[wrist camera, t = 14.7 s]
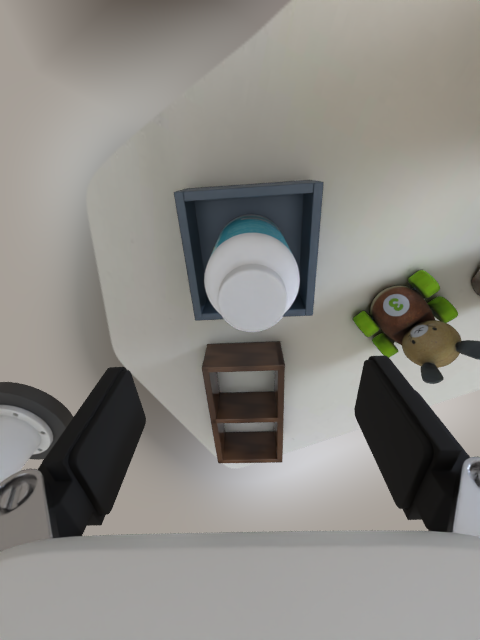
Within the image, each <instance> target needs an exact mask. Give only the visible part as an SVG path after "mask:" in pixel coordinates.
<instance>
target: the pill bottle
mask: <svg viewBox="0 0 480 640" xmlns="http://www.w3.org/2000/svg"><path fill="white" fill-rule="evenodd" d="M299 284H300V276H299V269H298V266H297V263H296V260H295V258H294V256H293V254H292V252H291V250H290V248H289V246H288V245H287V243H286V241H285V238H284V236H283V234H282V233H281V231H280V229H279V228H278V227H277V226H276V225H275V224H274V223H273V222H272V221H271V220H269V219H268V218H266V217H263V216H260V215H254V214H248V215H242V216H239V217H237V218H235V219H233V220H232V221H230V222H229V223H228V224H227V225H226V226H225V227H224V228H223V230H222V231H221V233H220V235H219V237H218V240H217V242H216V244H215V247H214V249H213V252H212V254H211V256H210V259H209V261H208V264H207V266H206V270H205V276H204V285H205V290H206V293H207V296H208V299H209V301H210V302H211V304H212V306H213V307H214V308H215V309H216V311H217V312H218V313H219V314H221V316H222V317H223V319H224V320H225V321H226V322H227V323H228V324H229V325H231V326H232V327H234V328H236V329H238V330H241V331H245V332H260V331H263V330H266V329H269V328H270V327H272V326H274V325H275V324H276V323H277V322H278V321H279V320H280V319H281V318H282V316H283V315H284V313H285V312H286V311H287V310H288V309H289V308H290V306H291V305H292V304H293V302H294V300H295V298H296V296H297V293H298V290H299Z"/></svg>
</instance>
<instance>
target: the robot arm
mask: <svg viewBox="0 0 480 640" xmlns="http://www.w3.org/2000/svg"><path fill="white" fill-rule="evenodd" d="M355 417H356V419H357V421H358V424H359V426H360V428H361V430H362V432H363V434H364V437H365V439H366V441H367V443H368V445H369V447H370V449H371V452H372V454H373V456H374V458H375V460H376V463H377V465H378V467H379V469H380V471H381V473H382V476H383V478H384V480H385V482H386V484H387V486H388V489H389V491H390V493H391V495H392V497H393V499H394V502H395V504H396V505H397V507H398V508H400V509H403V511H404V513H405V515H406V517H407V519H408V520H417V519H422V520H423V522H424V524H425V526H426V528H427V529H429V531H373V530H371V531H288V532H287V531H284V532H223V533H177V534H176V533H173V534H129V535H128V534H127V535H102V536H101V535H100V536H82V534H83V532H84V530H85V528H86V526H87V525H102V522H103V520H104V517H105V515H106V514H109V513H110V511H111V510H112V507H113V505H114V502H115V500H116V497H117V495H118V492H119V490H120V487H121V484H122V482H123V479H124V477H125V475H126V472H127V469H128V467H129V464H130V462H131V459H132V457H133V454H134V452H135V449H136V447H137V444H138V442H139V439H140V436H141V434H142V431H143V429H144V426H145V422H146V418H145V414H144V411H143V408H142V405H141V402H140V399H139V396H138V393H137V390H136V387H135V384H134V381H133V378H132V375H131V372H130V371H129V370H126V368H125V367H113V368H108V369H107V370H106V372H105V373H104V375H103V376H102V377H101V379H100V380H99V382H98V383H97V385H96V386H95V388H94V389H93V390H92V392H91V393H90V395H89V396H88V397H87V399H86V400H85V402H84V403H83V405H82V406H81V407H80V409H79V410H78V412H77V413H76V415H75V416H74V417H73V419H72V420H71V422H70V423H69V425H68V426H67V427H66V429H65V430H64V432H63V433H62V434H61V436H60V437H59V439H58V440H57V442H56V443H55V444H54V446H53V447H52V449H51V450H50V452H49V453H48V454H47V456H46V457H45V459H44V460H43V462H42V464H41V465H40V467H39V468H38V470H37V469H26V470H22V471H20V470H21V468H22V467H23V466H24V465H25V463H26V462H27V461H28V459H29V458H30V457H31V455H34V454H39V453H42V452H44V451H45V450H47V449H48V448H49V446H50V445H51V443H52V441H53V433H52V431H51V429H50V427H49V426H48V425H47V423H46V422H45V421H43V420H42V419H41V418H40V417H38V416H37V415H35V414H33V413H32V412H30V411H27V410H25V409H22V408H19V407H16V406H10V405H0V640H480V457H478V456H477V457H469V455H468V454H467V453H466V452H465V450H464V449H463V448H462V447H461V445H460V444H459V443H458V442H457V440H456V439H455V438H454V437H453V435H452V434H451V433H450V432H449V430H448V429H447V428H446V427H445V425H444V424H443V423H442V422H441V421H440V419H439V418H438V417H437V415H436V414H435V413H434V412H433V410H432V409H431V408H430V407H429V405H428V404H427V403H426V402H425V400H424V399H423V398H422V397H421V395H420V394H419V393H418V392H417V391H415V390H414V389H413V388H412V386H411V385H410V384H409V383H408V381H407V380H406V379H405V378H404V376H403V375H402V374H401V373H400V371H399V370H398V369H397V367H396V366H395V365H394V364H393V362H392V361H391V360H390V359H389V358H388V357H387V356H371V357H369V359H368V360H366V361H365V362H364V366H363V370H362V375H361V380H360V385H359V390H358V395H357V400H356V405H355Z"/></svg>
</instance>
